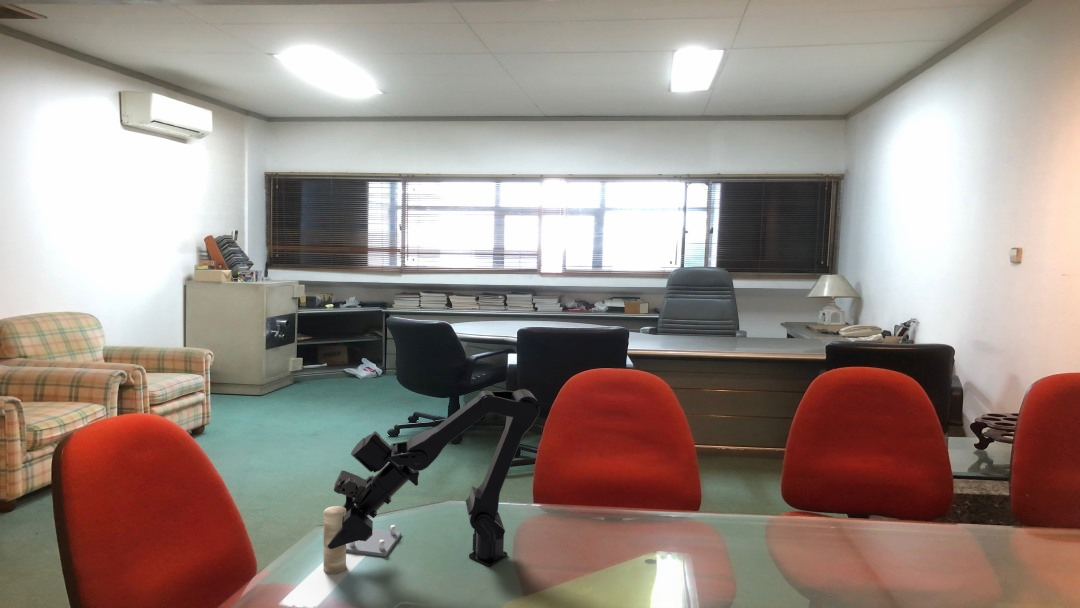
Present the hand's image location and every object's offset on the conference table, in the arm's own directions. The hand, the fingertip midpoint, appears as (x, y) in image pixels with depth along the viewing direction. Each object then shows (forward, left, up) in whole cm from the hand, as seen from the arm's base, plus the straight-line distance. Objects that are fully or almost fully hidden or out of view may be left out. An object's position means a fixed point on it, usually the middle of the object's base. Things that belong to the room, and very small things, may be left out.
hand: (330, 536), depth 135 cm
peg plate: (+1, -13, -7) cm, 15 cm away
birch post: (-1, -1, -7) cm, 7 cm away
